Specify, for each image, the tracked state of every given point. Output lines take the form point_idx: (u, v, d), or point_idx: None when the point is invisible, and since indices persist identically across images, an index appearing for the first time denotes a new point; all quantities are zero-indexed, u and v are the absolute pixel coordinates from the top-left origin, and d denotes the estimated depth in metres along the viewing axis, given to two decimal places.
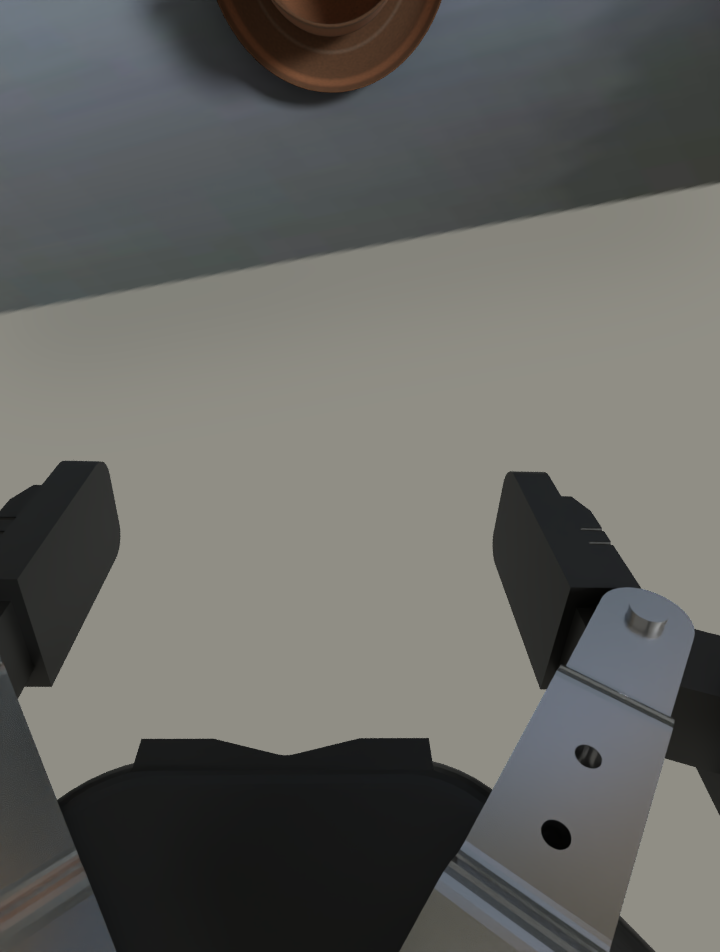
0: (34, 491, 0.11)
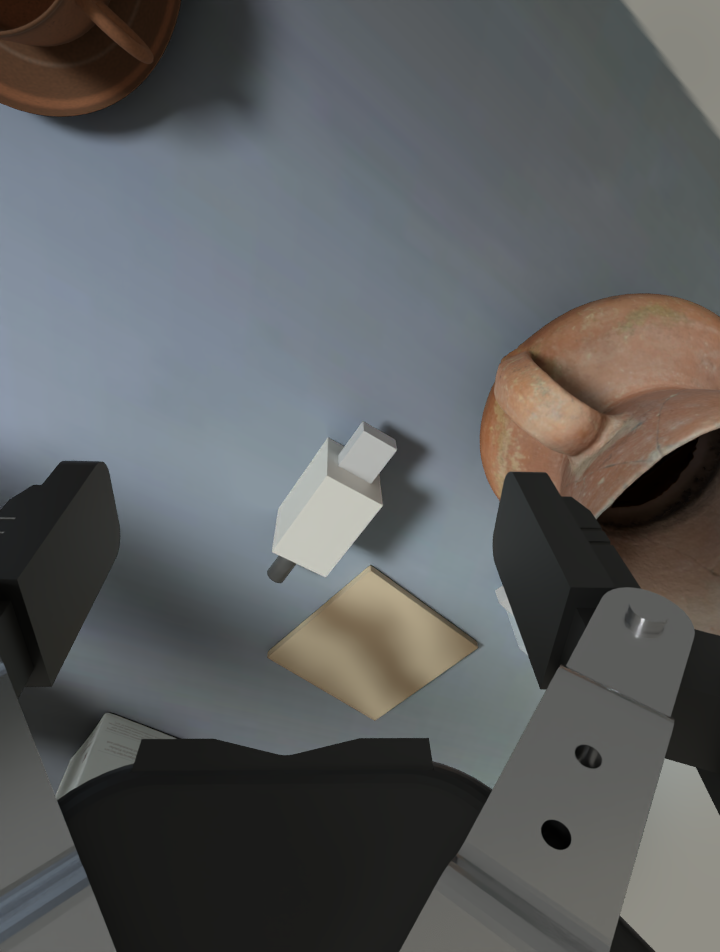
0: (34, 491, 0.11)
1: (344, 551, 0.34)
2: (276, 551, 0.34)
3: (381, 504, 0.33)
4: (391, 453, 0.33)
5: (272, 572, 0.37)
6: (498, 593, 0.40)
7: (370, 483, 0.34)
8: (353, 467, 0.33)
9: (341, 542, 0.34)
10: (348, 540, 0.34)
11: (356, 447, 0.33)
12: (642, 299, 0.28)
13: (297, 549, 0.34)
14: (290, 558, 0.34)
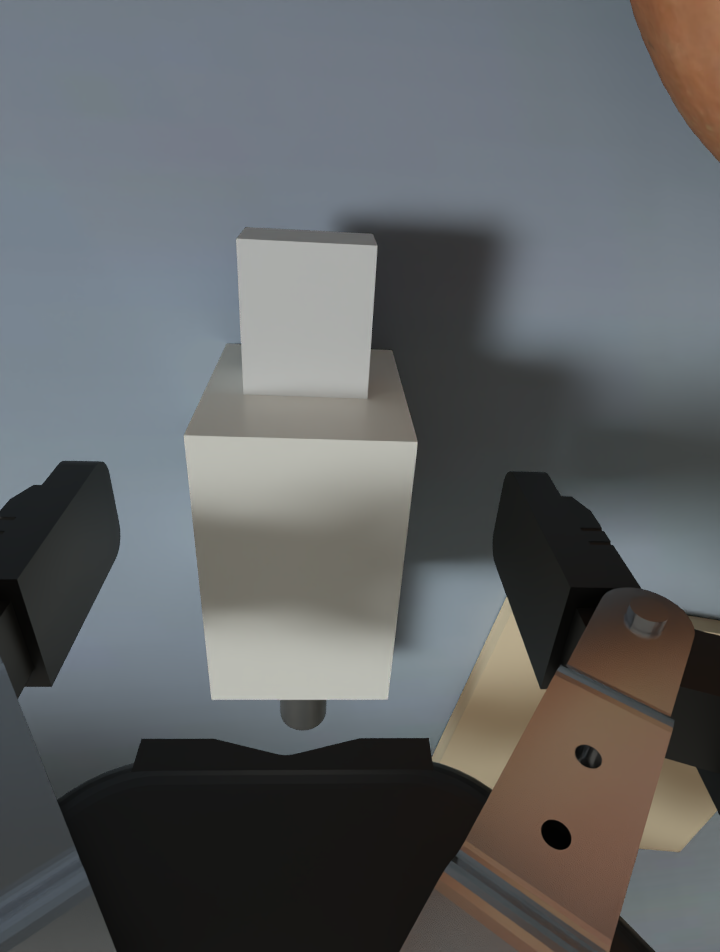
0: (34, 491, 0.11)
1: (392, 620, 0.11)
2: (222, 694, 0.12)
3: (412, 441, 0.09)
4: (366, 267, 0.10)
5: (286, 712, 0.15)
6: None
7: (367, 397, 0.11)
8: (286, 375, 0.10)
9: (367, 602, 0.11)
10: (382, 589, 0.11)
11: (252, 308, 0.10)
12: None
13: (267, 668, 0.12)
14: (267, 695, 0.12)
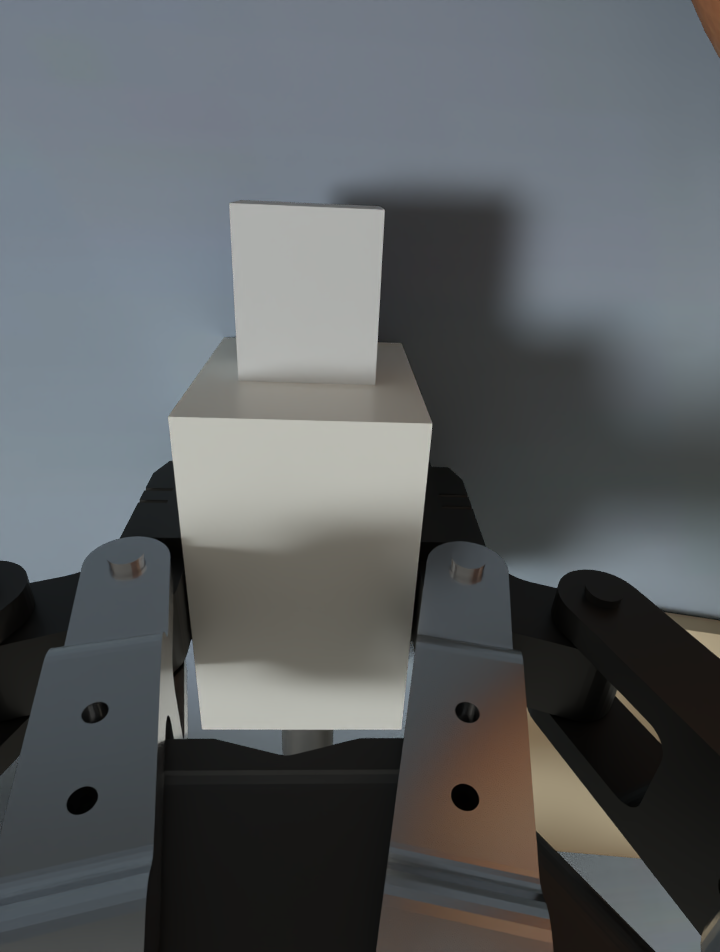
0: (172, 466, 0.12)
1: (405, 636, 0.10)
2: (214, 723, 0.11)
3: (425, 423, 0.08)
4: (372, 234, 0.09)
5: (288, 747, 0.14)
6: None
7: (374, 384, 0.10)
8: (286, 358, 0.09)
9: (377, 614, 0.10)
10: (394, 598, 0.10)
11: (247, 282, 0.09)
12: None
13: (264, 692, 0.10)
14: (265, 723, 0.11)
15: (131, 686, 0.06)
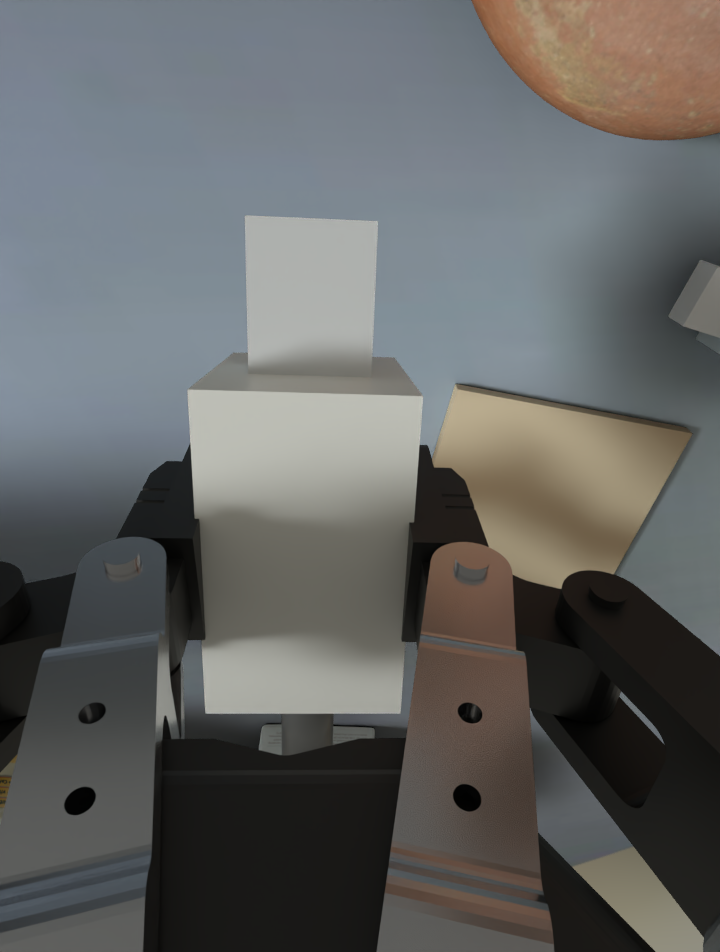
0: (170, 466, 0.12)
1: (402, 610, 0.10)
2: (217, 706, 0.11)
3: (417, 396, 0.09)
4: (367, 242, 0.10)
5: None
6: (675, 315, 0.23)
7: (371, 376, 0.11)
8: (291, 353, 0.11)
9: (375, 587, 0.10)
10: (391, 569, 0.10)
11: (259, 283, 0.10)
12: None
13: (267, 671, 0.11)
14: (267, 707, 0.11)
15: (128, 686, 0.06)
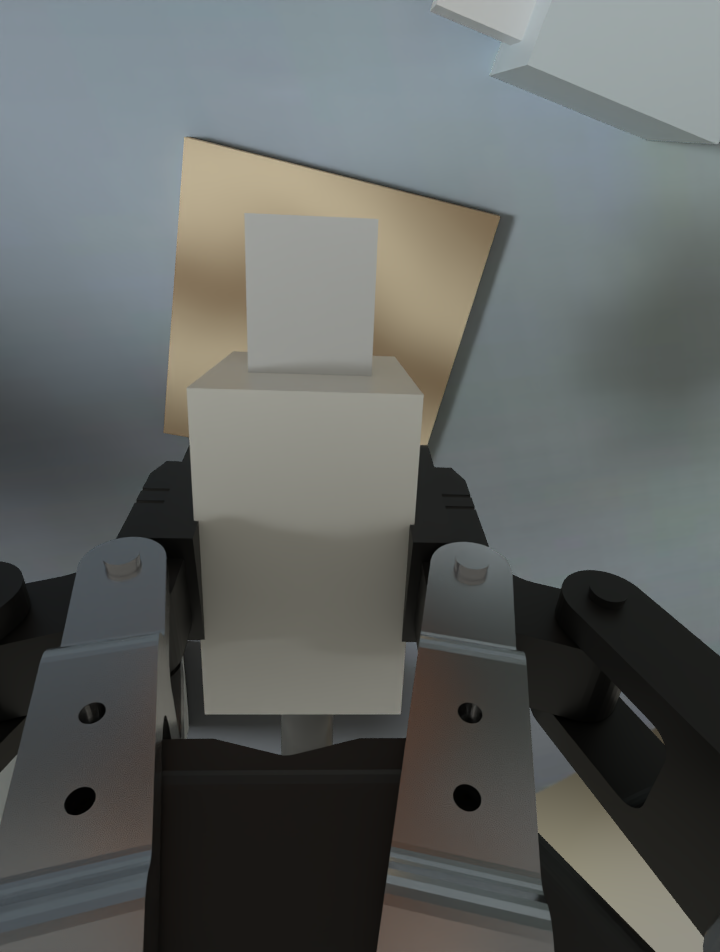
0: (170, 466, 0.12)
1: (402, 610, 0.10)
2: (216, 707, 0.11)
3: (417, 395, 0.09)
4: (367, 240, 0.10)
5: None
6: (434, 1, 0.17)
7: (371, 375, 0.11)
8: (291, 351, 0.10)
9: (376, 586, 0.10)
10: (392, 569, 0.10)
11: (258, 281, 0.10)
12: None
13: (267, 672, 0.11)
14: (267, 708, 0.11)
15: (128, 686, 0.06)
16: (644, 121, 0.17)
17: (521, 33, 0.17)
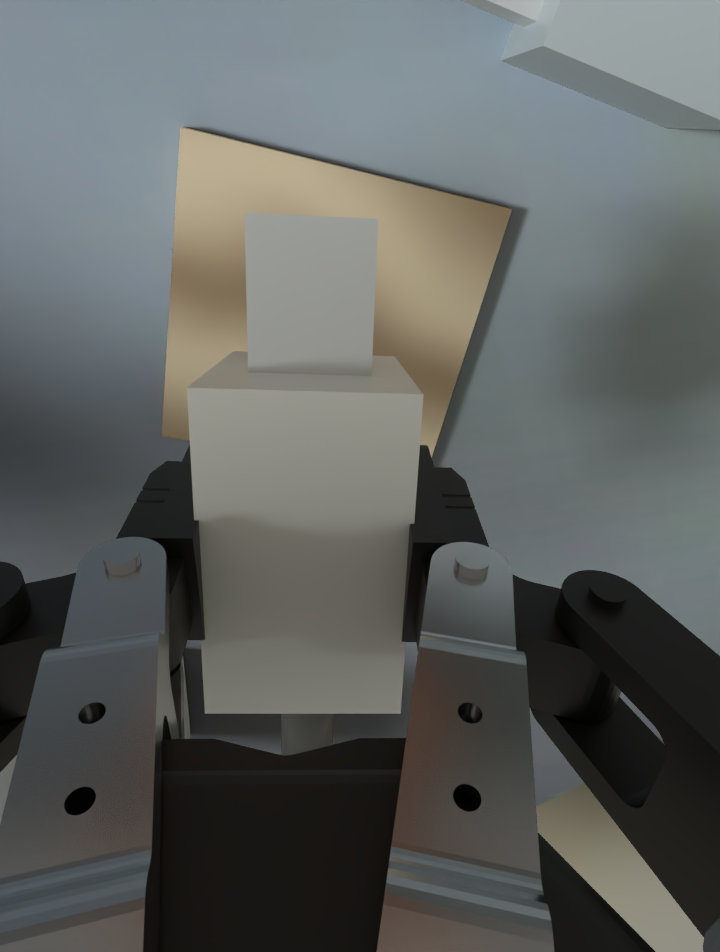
0: (169, 466, 0.12)
1: (402, 609, 0.10)
2: (217, 706, 0.11)
3: (417, 394, 0.09)
4: (368, 239, 0.10)
5: None
6: None
7: (371, 374, 0.11)
8: (290, 351, 0.11)
9: (376, 586, 0.10)
10: (392, 569, 0.10)
11: (258, 281, 0.10)
12: None
13: (267, 671, 0.11)
14: (267, 707, 0.11)
15: (128, 686, 0.06)
16: (666, 106, 0.16)
17: (536, 13, 0.16)
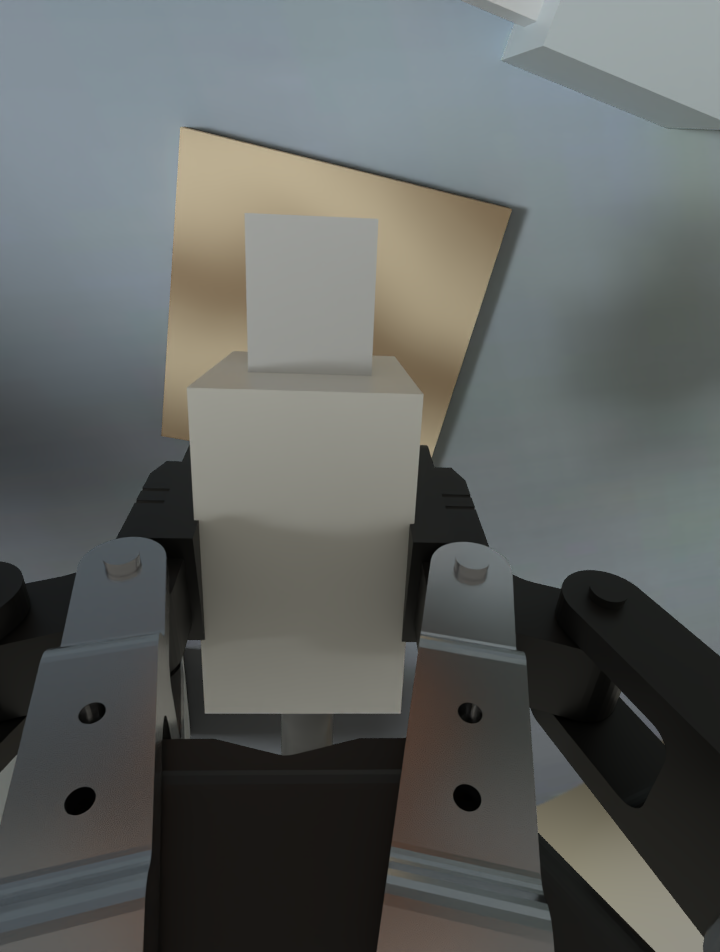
0: (169, 466, 0.12)
1: (402, 609, 0.10)
2: (217, 706, 0.11)
3: (417, 394, 0.09)
4: (368, 239, 0.10)
5: None
6: None
7: (371, 374, 0.11)
8: (290, 351, 0.11)
9: (376, 586, 0.10)
10: (392, 569, 0.10)
11: (258, 281, 0.10)
12: None
13: (267, 671, 0.11)
14: (267, 707, 0.11)
15: (128, 686, 0.06)
16: (666, 106, 0.16)
17: (536, 13, 0.16)
